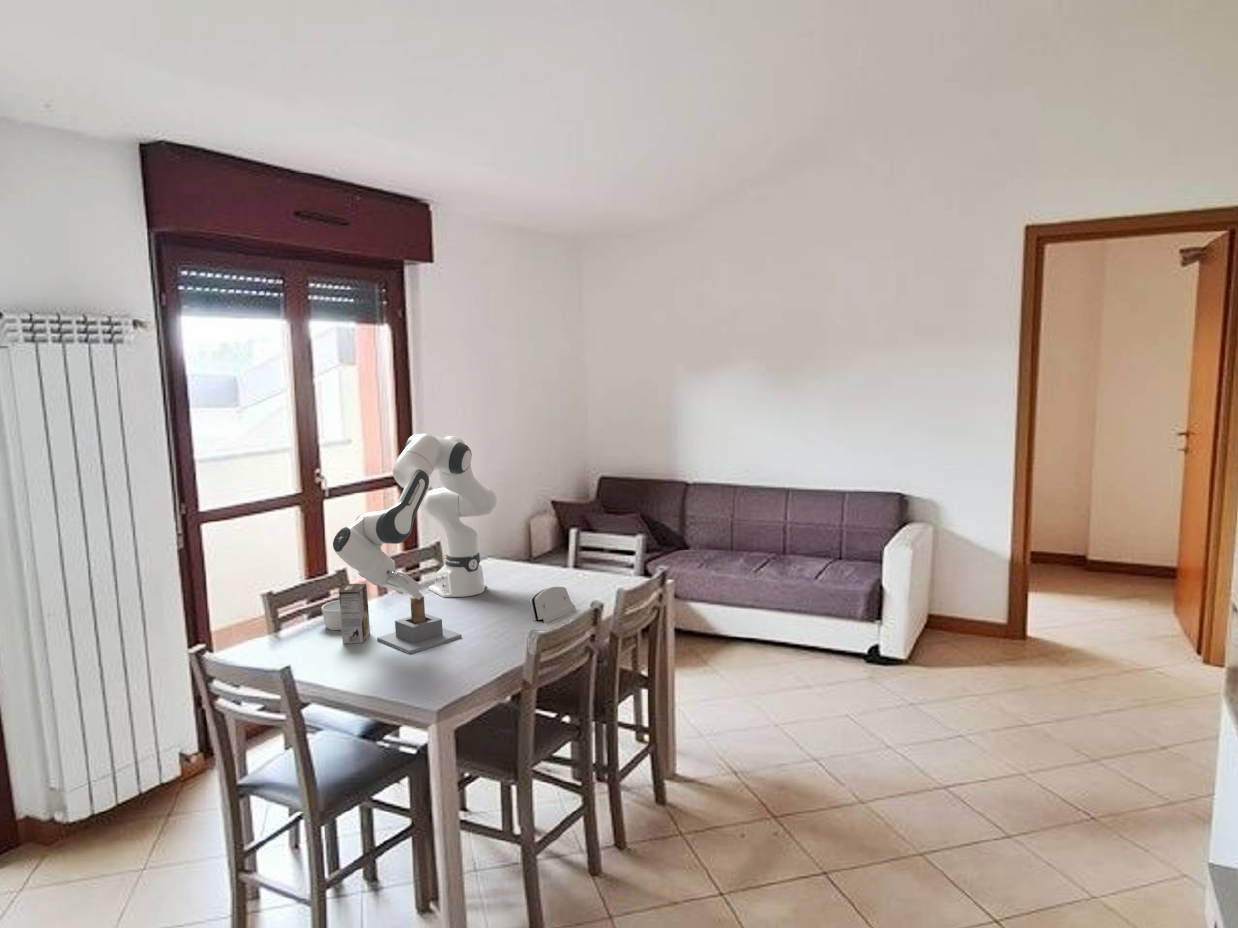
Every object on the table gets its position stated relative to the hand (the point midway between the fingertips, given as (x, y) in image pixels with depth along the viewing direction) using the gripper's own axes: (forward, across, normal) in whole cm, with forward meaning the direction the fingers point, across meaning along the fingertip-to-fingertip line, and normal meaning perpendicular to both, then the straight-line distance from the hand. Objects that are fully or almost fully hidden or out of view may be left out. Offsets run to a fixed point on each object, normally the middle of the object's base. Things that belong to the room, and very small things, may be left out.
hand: (410, 594), depth 236 cm
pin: (+11, 0, +8) cm, 14 cm away
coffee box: (+4, +16, +17) cm, 24 cm away
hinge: (+42, -14, -21) cm, 49 cm away
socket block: (+12, 0, +9) cm, 15 cm away
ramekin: (+6, +31, +14) cm, 35 cm away
